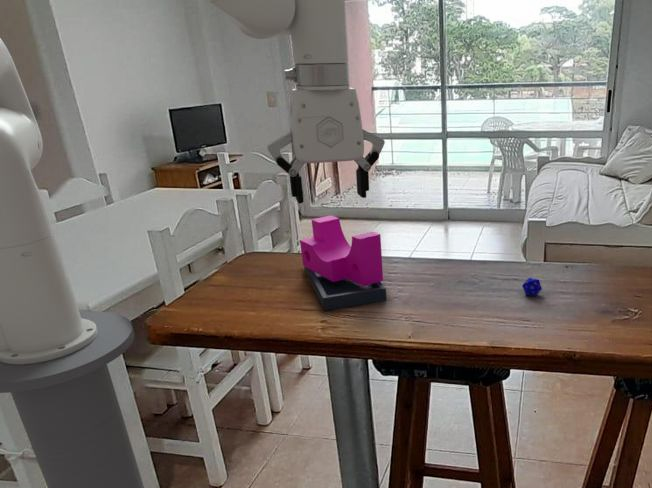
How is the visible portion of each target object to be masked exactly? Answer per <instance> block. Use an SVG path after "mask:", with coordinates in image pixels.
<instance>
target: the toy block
mask: <svg viewBox="0 0 652 488" xmlns="http://www.w3.org/2000/svg"><path fill="white" fill-rule="evenodd" d="M311 227H312V236H311V237H306V238H302V239H299V243H300V252H301V259H302V266H303V267H304V266H305V267H307V268H309V269H310V270H312V271H314V272H316V273H318V274H319V275H321V276H323V277H325V278H327V279H328V280H330V281H332V282H336V281H339V280H343V279H349V280H351V281H353V282H355V283H357V284H359V285H361V286H367V285H370V284H373V283H377V282H383V281H384V272H383V255H382V238H381V233H378V232H375V231H369V232H365V233H360V234H356V235H351V245H350V244H349V242H348V240H347V239H346V237H345V235H344V232H343V228H342V225H341V221H340V218H339V217H338V216H337V217H336V216H334V215H327V216H321V217H315V218H312V219H311Z"/></svg>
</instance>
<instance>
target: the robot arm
mask: <svg viewBox="0 0 652 488" xmlns="http://www.w3.org/2000/svg"><path fill="white" fill-rule="evenodd" d="M206 1H207V2H209V3H210V4H212V5H213V6H214V7H216V8H218V10H220V11H222V12H223V13H225V14H226V15H228V16H229V17H230V20H231V22H232V23H233V25H234V26H235V27H236V29H237V30H238V31H239V32H241V33H242V34H244V36H247V37H249V38H252V39H257V40H265V39H271V38H277V37H285V36H286V37H287V36H291V47H292V48H291V49H292V58H293V65H292V67H291V68H289V69H284V70H283V75H284V76H283V77H284V80H285V81H290V82H293V83H294V84H295V88H292V89H291V93H290V110H289V112H290V113H289V114H290V115H289V116H290V118H289V119H290V131H288V132H286V133H285V134H283V135H282V136H280V137H278V138H277V139H275V140H273V141H271V142H270V143H269V144H267V146H266V149H267V151H268V152H269V154H270V156H271V157H272V158H273V160H274V162H275V163H276V164H277V166H278V167H279V168H281V169H282V170H283V171H284V172H285V173H287V174H288V175H289V184H290V192H291V197H292V198H295V200H296V202H297V203H298V204H303V203H304V192H303V191H304V190H303V182H302V176H301V175H300V171H301V169H302V168H303V167H304V165H305V164H322V163H325V164H326V163H335V162H336V163H338V162H339V163H340V162H350V161H351V162H352V161H353V162H355V164H356V165H357V168H356V169H355V177H356V194H357V195H358V196H359V197H361V198H362V199H367V192H369V191H370V177H369V175H370V174H369V172H370V171H371V170H372V166H373V165H374V164H375V163H376V162H377V161H378V160H379V158H380V154H381V153H382V150H383V148H384V146H385V143H386V142H385V140H384V139H383V138H381V137H380V136H378V135H376V134H373V133H371V132H370V131H367V130H366V129H363V122H362V115H361V108H360V102H359V97H358V93H357V89H356V88H355V87H351V85H350V72H349V69H350V67H349V51H348V37H347V36H348V35H347V18H346V0H206ZM41 133H42V132H41V130H40V127H39V124H38V121H37V119H36V116H35V113H34V111H33V109H32V106H31V103H30V101H29V98H28V96H27V93H26V90H25V87H24V85H23V81H22V80H21V77H20V74H19V72H18V69H17V67H16V64H15V62H14V59H13V57H12V55H11V53H10V51H9V49H8V47H7V45H6V44H5V43H4V40H2V38H1V37H0V362H3V363H7V364H14V365H24V364H34V363H40V362H45V361H49V360H54V359H57V358H60V357H63V356H66V355H69V354H71V353H74V352H76V351H78V350H80V349H82V348H83V347H85V346H87V345H88V344H89V343H91V342H92V341H93V340H94V339H95V338H96V336H97V334H98V330H97V327H96V324H95V323H94V322H92V321H90V320H87V319H82V318H81V316H80V313H79V312H80V310H79V307H78V304H77V301H76V297H75V294H74V290H73V287H72V284H71V281H70V278H69V275H68V271H67V269H66V265H65V262H64V259H63V255H62V253H61V249H60V246H59V242H58V240H57V239H58V238H57V236H56V233H55V231H54V226H53V224H52V220H51V217H50V215H49V212H48V209H47V207H46V204H45V201H44V199H43V196H42V194H41V192H40V190H39V187H38V185H37V184H36V181H35V179H34V175H33V173H32V170H33V169H34V168H35V167H36V166H37V165H38V163H39V162H40V160H41V157H42V155H43V149H44V142H43V137H42V134H41ZM364 140H365V141H366V142H369V143H370V144H371V145H372V146H371V149H370V151H369V152H368V153H367V154H366V155H365V141H364ZM289 144H291V151H292V154H293V158H291V159H292V160H291V161H290V163H289V162H288V161H287V160H286V159H285V158H284V157H283V155H282V154H281V150H282V149H284V148H285V147H286V146H288V145H289ZM364 155H365V157H364Z"/></svg>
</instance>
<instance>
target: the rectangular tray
mask: <svg viewBox="0 0 652 488" xmlns="http://www.w3.org/2000/svg"><path fill="white" fill-rule="evenodd" d="M303 268H304V272H305V274H306V276H307V278H308V280H309V283H310V284H311V286H312V288H313V291H314V293H315V294H316V296H317V298H318V301H319V302H320V305H321V307H322V309H323V311H330V310H331V311H332V310H337V309H342V308H348V307H355V306H360V305H366V304H372V303H373V304H374V303H378V302H384V301H387V288H386V286H384V284H383V283H382V281H380V282H377V283H373V284H370V285H367V286H361V285H359V284H357V283H355V282H353V281H351V280H349V279H343V280H339V281H336V282H332V281H330V280H328V279H327V278H325V277H323V276H321V275H319V274H318V273H316V272H314V271H312V270H310V269H309V268H307V267H305V266H303Z"/></svg>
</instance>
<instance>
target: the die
mask: <svg viewBox="0 0 652 488" xmlns="http://www.w3.org/2000/svg"><path fill="white" fill-rule="evenodd" d="M521 286H522V288H523V291H524V294H525V295H527V296H532V297H537V295H538V294H539V293H540V292H541V291H542V290H543V287H542V285H541V282H540V279H538V278H533V277H528V278H527V279H526V280H525V281H524V283H522V285H521Z"/></svg>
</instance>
